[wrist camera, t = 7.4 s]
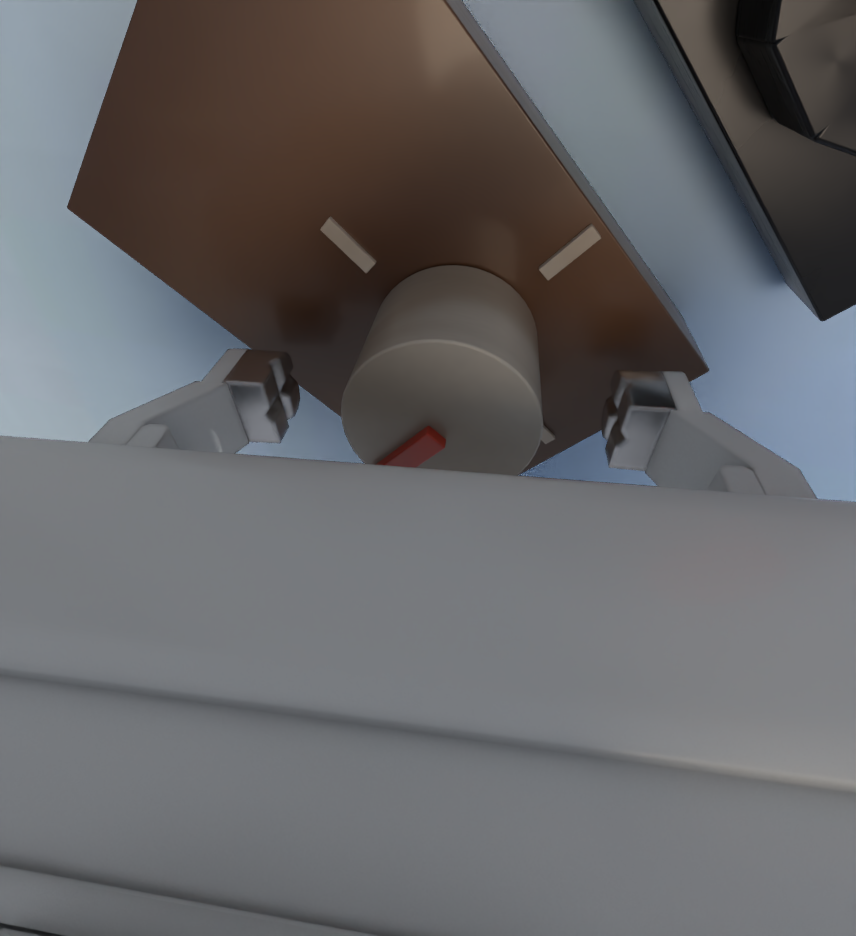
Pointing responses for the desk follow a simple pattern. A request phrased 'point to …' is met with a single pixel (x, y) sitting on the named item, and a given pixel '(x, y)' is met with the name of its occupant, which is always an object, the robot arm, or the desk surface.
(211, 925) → the robot arm
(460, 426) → the dial
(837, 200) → the control block
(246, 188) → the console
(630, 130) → the desk surface
